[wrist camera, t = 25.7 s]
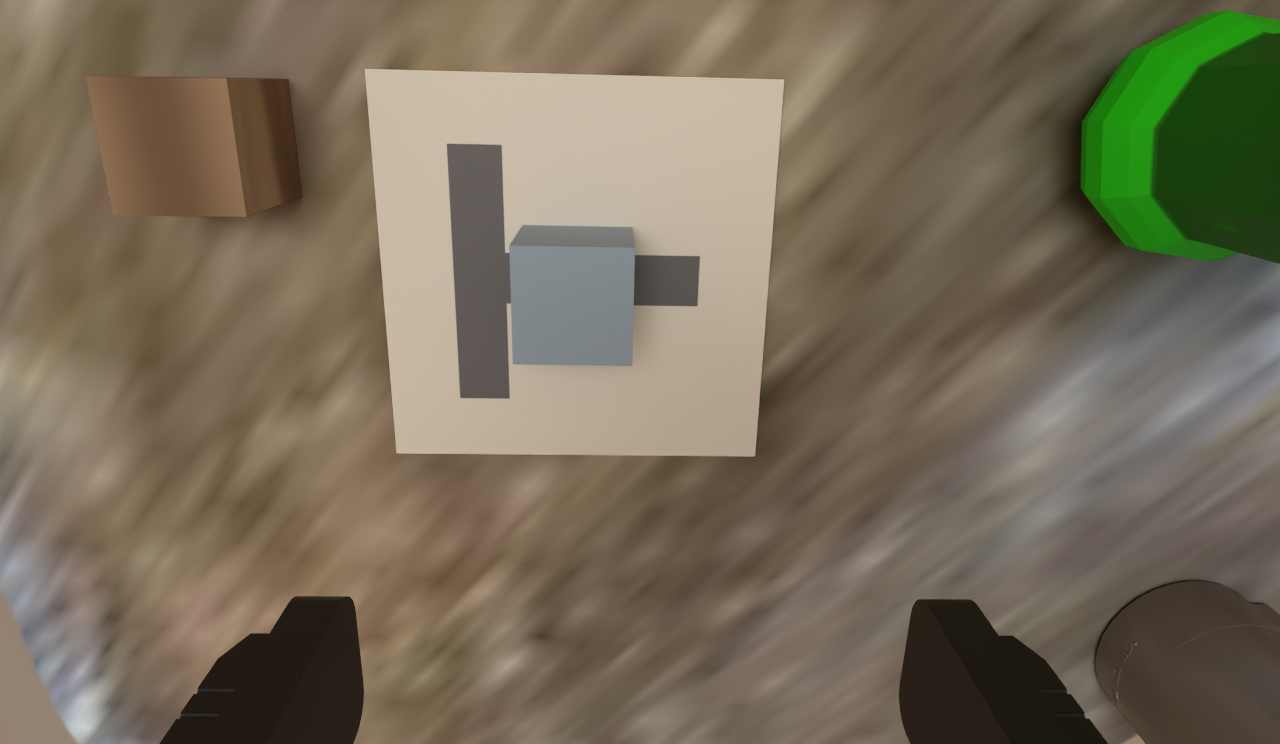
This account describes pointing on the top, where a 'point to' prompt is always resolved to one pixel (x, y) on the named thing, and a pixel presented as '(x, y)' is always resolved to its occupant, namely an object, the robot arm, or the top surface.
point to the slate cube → (572, 295)
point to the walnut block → (195, 144)
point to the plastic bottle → (1191, 141)
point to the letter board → (574, 196)
